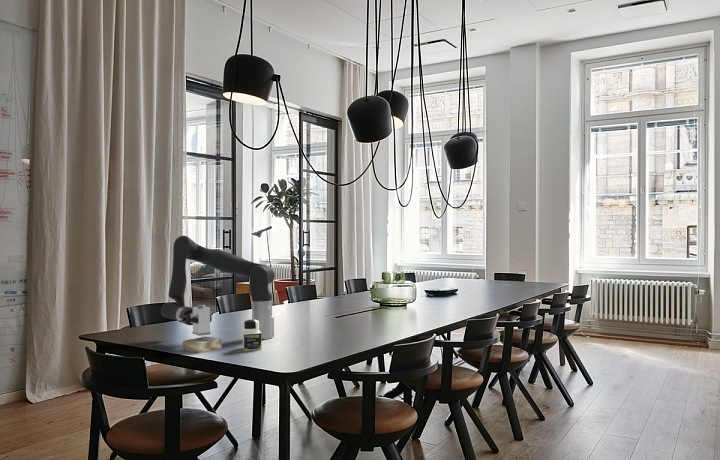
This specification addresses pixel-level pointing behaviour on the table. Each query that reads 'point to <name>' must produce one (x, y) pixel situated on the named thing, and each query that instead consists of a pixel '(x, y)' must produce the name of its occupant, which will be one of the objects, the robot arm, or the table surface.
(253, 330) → the medicine bottle
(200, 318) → the housing
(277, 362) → the table surface
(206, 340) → the stand
